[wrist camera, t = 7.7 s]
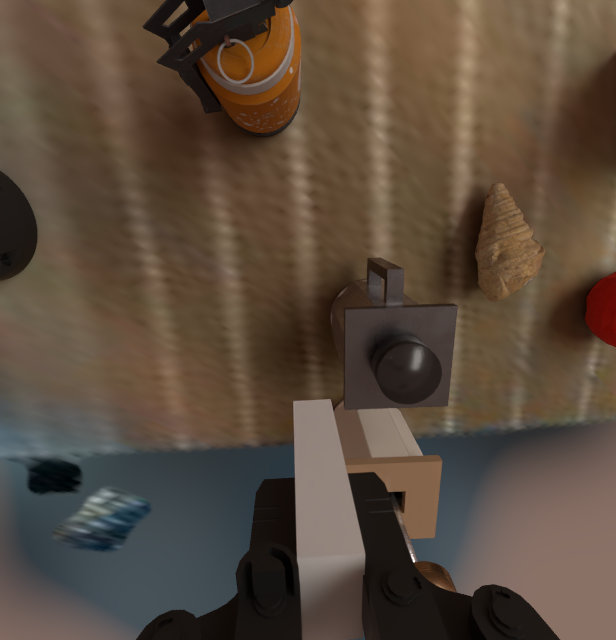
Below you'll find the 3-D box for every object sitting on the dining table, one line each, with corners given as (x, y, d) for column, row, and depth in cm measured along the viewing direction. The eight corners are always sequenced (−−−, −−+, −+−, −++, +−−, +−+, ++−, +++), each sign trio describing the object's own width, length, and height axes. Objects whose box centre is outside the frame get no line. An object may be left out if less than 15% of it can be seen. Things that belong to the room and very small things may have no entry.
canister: (310, 122, 42) (320, 40, 22) (225, 154, 42) (164, 102, 23) (284, 38, 39) (272, -135, 20) (194, 74, 40) (98, -60, 21)
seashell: (448, 197, 45) (479, 193, 37) (510, 176, 44) (555, 167, 36) (467, 296, 48) (499, 311, 41) (525, 278, 48) (568, 289, 40)
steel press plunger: (344, 349, 46) (367, 413, 31) (344, 296, 44) (369, 338, 29) (398, 347, 46) (447, 410, 31) (400, 294, 44) (454, 335, 29)
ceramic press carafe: (331, 468, 56) (344, 562, 40) (330, 392, 52) (344, 465, 37) (395, 465, 56) (432, 558, 41) (399, 389, 52) (442, 461, 37)
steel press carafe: (330, 351, 50) (344, 410, 35) (329, 256, 46) (345, 275, 31) (402, 348, 50) (447, 406, 35) (407, 253, 46) (461, 271, 31)
